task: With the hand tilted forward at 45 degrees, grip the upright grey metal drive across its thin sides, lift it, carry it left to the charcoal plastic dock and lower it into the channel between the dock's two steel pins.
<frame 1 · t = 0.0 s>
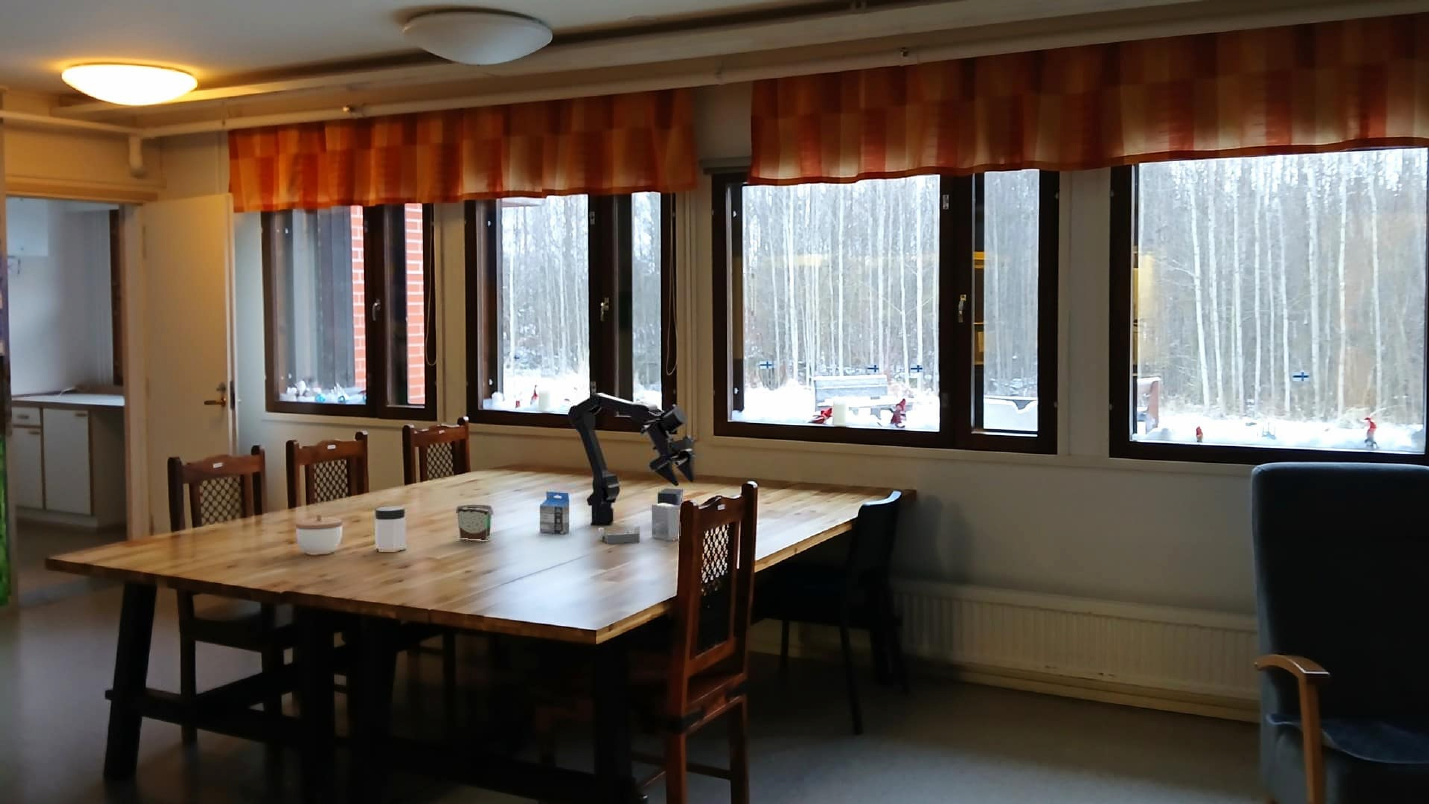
hand: (685, 483, 367), 15 cm above the table, tool tilted 35°, fingers open, 9 cm apart
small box: (670, 523, 384), on the table
dock: (619, 538, 356), on the table
label tape box: (554, 532, 368), on the table
jar: (390, 550, 342), on the table
drive: (666, 538, 357), on the table
lidded bowl: (320, 553, 338), on the table
food container: (479, 539, 358), on the table
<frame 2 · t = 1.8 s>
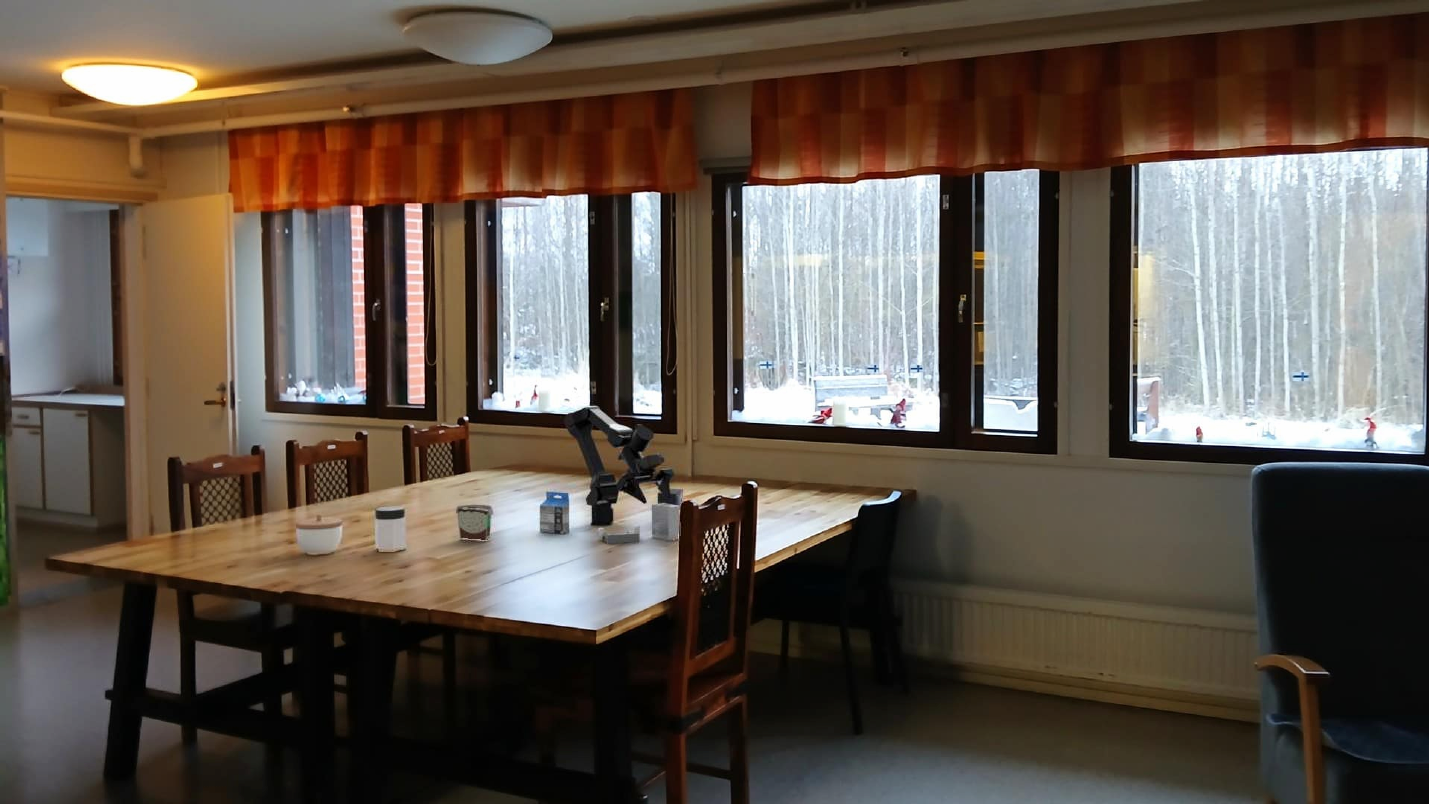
hand: (658, 501, 359), 11 cm above the table, tool tilted 45°, fingers open, 9 cm apart
nothing on the table moved.
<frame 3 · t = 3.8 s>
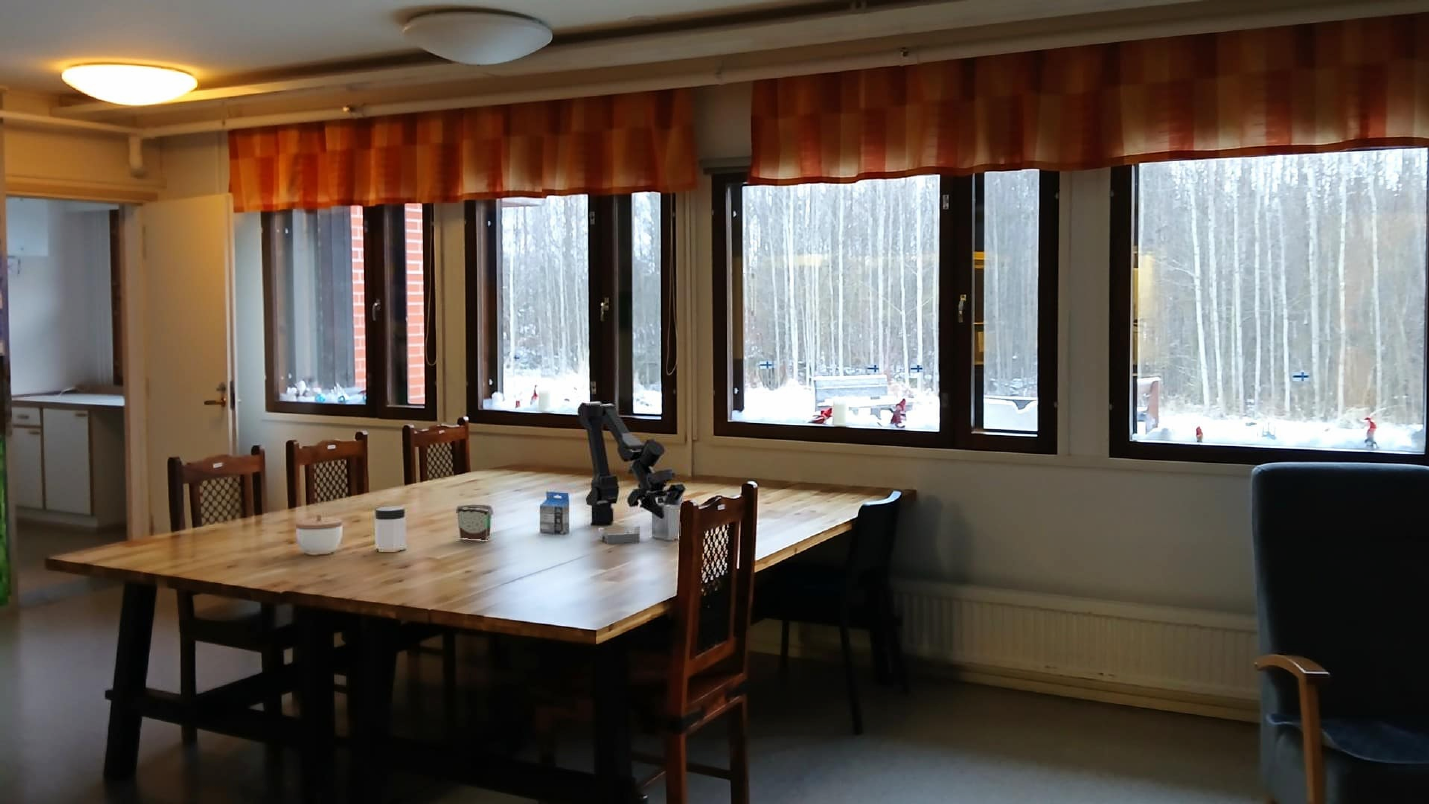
hand: (668, 516, 356), 7 cm above the table, tool tilted 45°, fingers closed on drive, 4 cm apart
drive: (666, 538, 357), on the table, touching gripper
everything else where it was.
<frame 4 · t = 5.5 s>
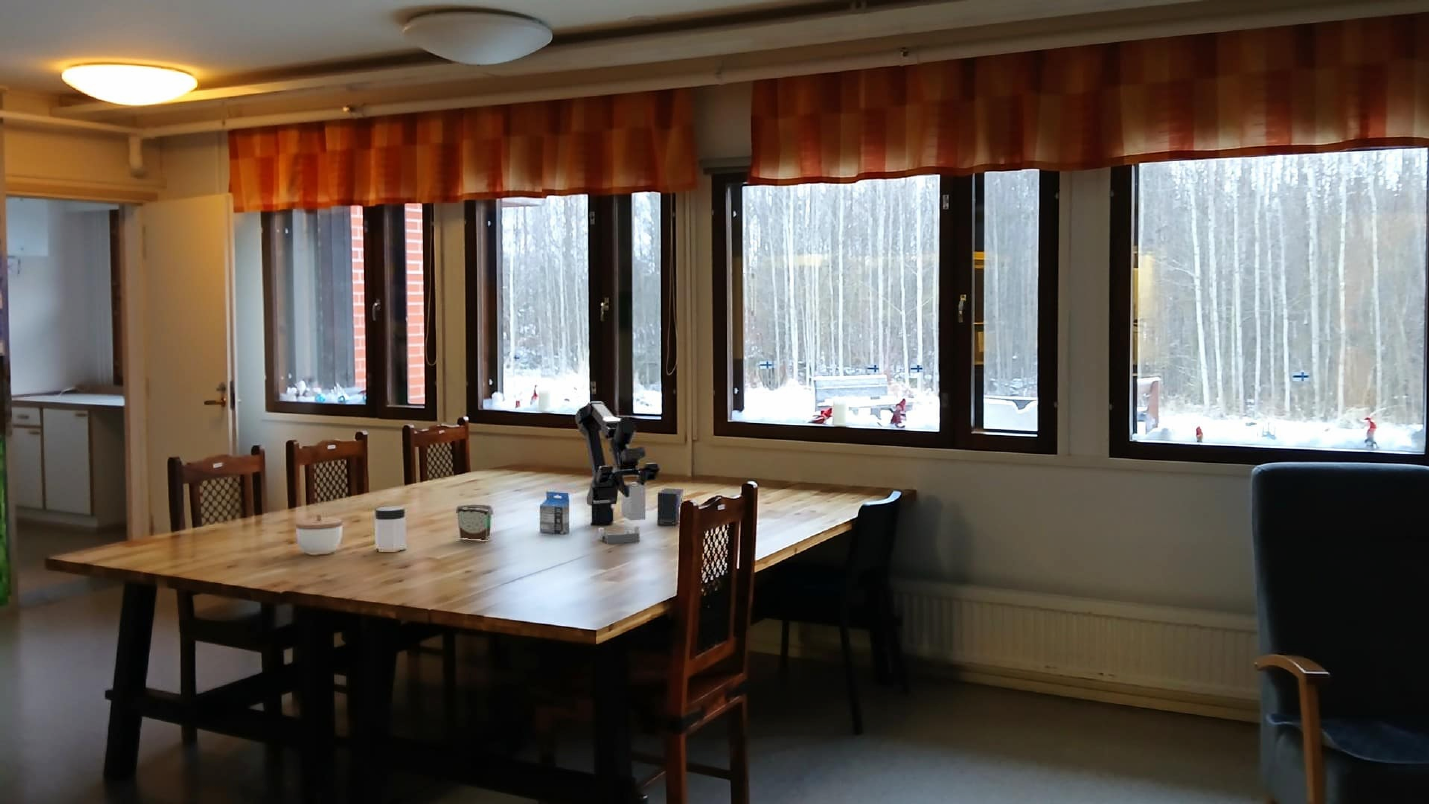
hand: (634, 495, 354), 13 cm above the table, tool tilted 45°, fingers closed on drive, 4 cm apart
drive: (633, 517, 356), point 6 cm above the table, touching gripper
everything else where it was.
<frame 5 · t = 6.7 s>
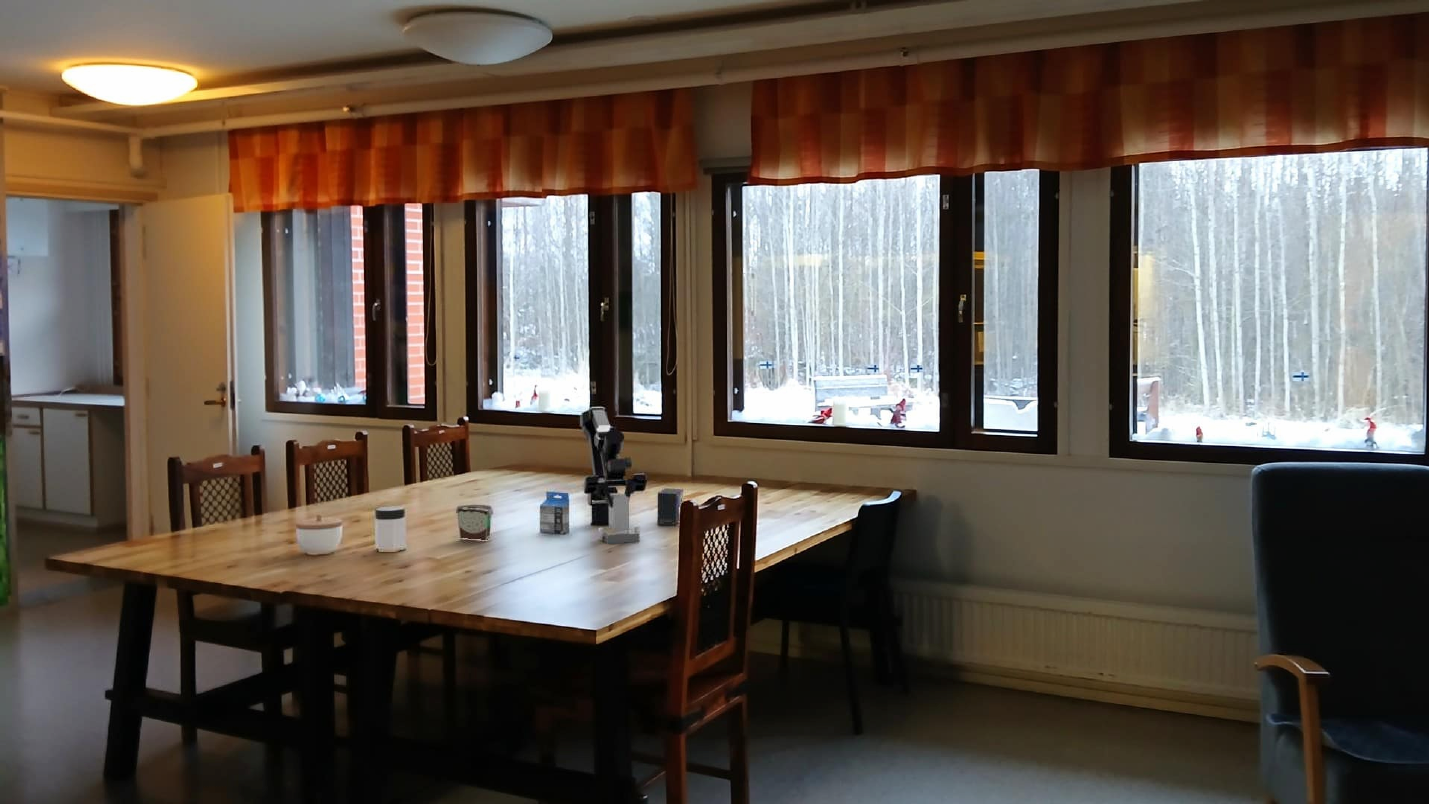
hand: (619, 506, 355), 10 cm above the table, tool tilted 45°, fingers closed on drive, 4 cm apart
drive: (618, 528, 356), point 3 cm above the table, touching gripper
everything else where it was.
when the fingers open (8 cm above the table, at t = 7.5 s): drive stays where it is, on the table.
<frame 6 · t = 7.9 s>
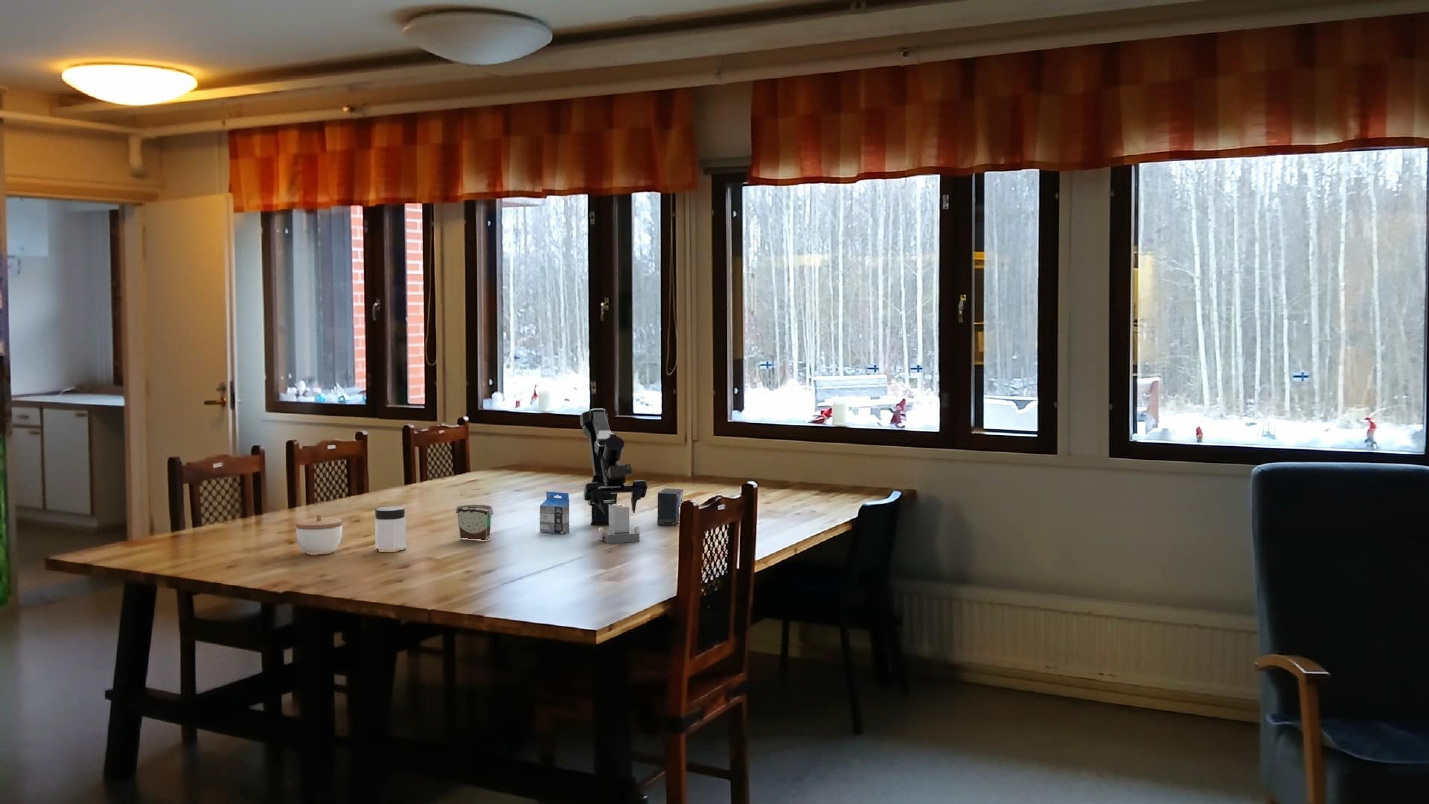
hand: (619, 513, 355), 8 cm above the table, tool tilted 45°, fingers open, 8 cm apart
drive: (619, 539, 356), on the table
everything else where it was.
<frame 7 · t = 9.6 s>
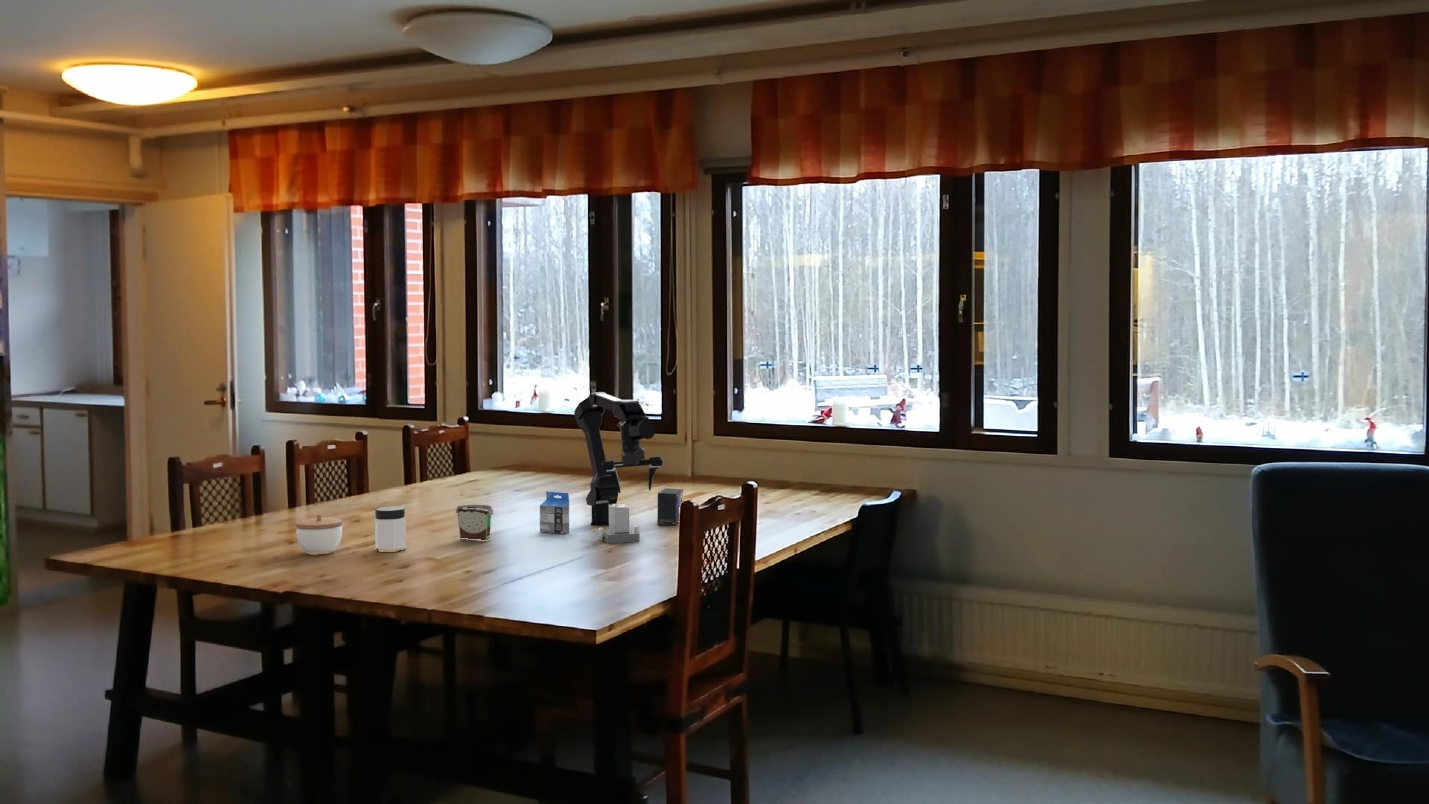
hand: (634, 491, 366), 13 cm above the table, tool pointing down, fingers open, 9 cm apart
nothing on the table moved.
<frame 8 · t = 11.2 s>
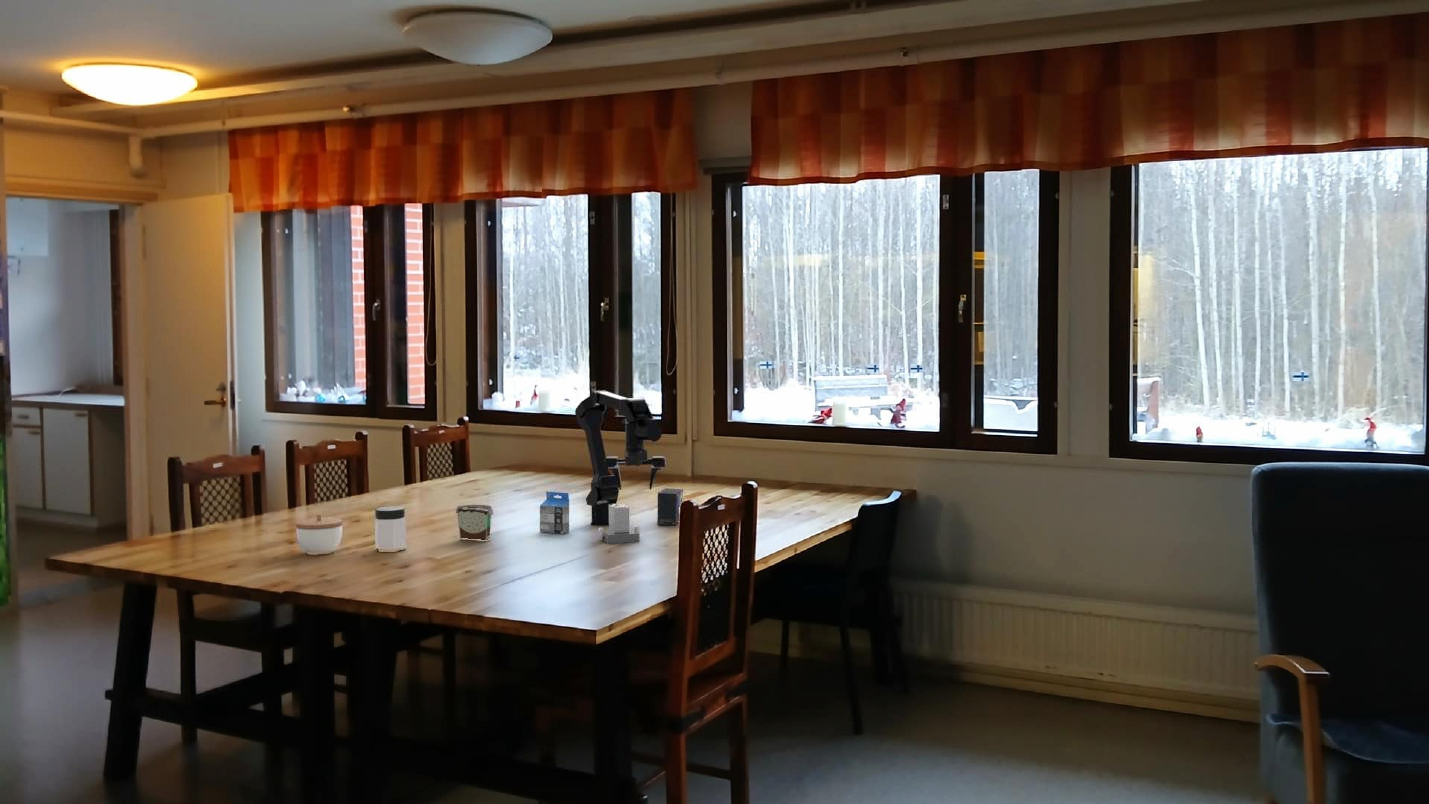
hand: (635, 489, 368), 13 cm above the table, tool pointing down, fingers open, 9 cm apart
nothing on the table moved.
at the end: drive 0.0 cm from the dock (horizontally); drive tilted 0°; drive on the table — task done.
